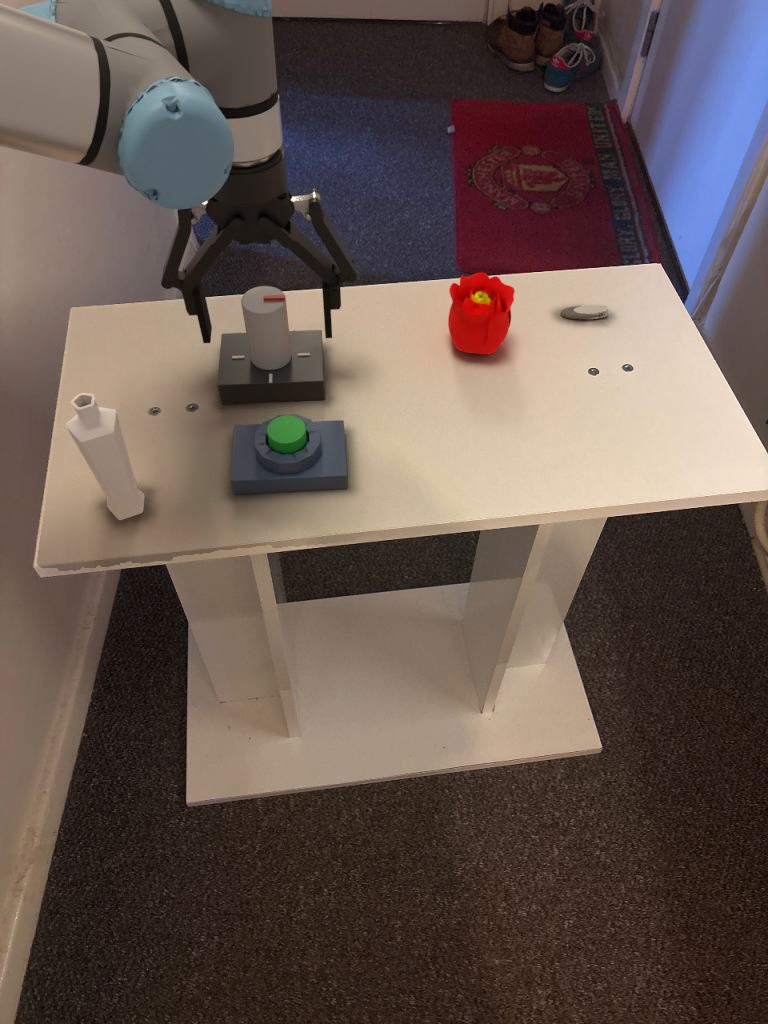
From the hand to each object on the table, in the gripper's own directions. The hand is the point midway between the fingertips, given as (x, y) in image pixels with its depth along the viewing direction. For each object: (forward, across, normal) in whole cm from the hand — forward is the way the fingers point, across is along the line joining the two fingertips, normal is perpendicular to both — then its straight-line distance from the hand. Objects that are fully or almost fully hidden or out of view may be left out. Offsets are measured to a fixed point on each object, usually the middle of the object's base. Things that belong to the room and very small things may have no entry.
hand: (268, 333), depth 85 cm
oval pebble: (+7, -40, -9) cm, 41 cm away
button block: (+6, -2, +14) cm, 16 cm away
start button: (+3, -2, +14) cm, 14 cm away
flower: (+7, -25, -4) cm, 26 cm away
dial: (+3, 0, 0) cm, 3 cm away
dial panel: (+6, 0, 0) cm, 6 cm away
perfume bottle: (+7, +15, +18) cm, 25 cm away
